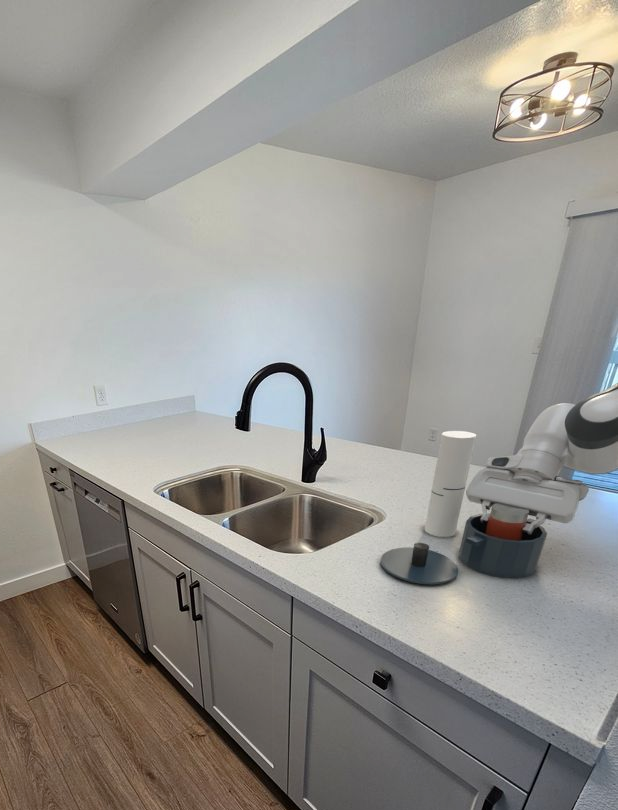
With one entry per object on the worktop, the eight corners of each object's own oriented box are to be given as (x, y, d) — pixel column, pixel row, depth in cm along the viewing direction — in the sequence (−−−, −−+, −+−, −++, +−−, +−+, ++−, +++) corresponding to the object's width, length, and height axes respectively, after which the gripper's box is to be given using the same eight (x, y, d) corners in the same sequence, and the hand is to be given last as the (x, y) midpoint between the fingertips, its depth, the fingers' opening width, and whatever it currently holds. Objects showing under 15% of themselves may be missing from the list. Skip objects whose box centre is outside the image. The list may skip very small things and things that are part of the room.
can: (525, 548, 94) (537, 510, 90) (504, 556, 92) (515, 517, 88) (496, 536, 100) (506, 500, 96) (475, 543, 97) (484, 506, 93)
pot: (559, 564, 95) (571, 529, 91) (495, 588, 88) (505, 551, 84) (496, 538, 107) (504, 506, 103) (436, 557, 100) (442, 524, 96)
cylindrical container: (453, 539, 108) (475, 439, 97) (422, 533, 111) (440, 436, 100) (456, 528, 113) (477, 432, 102) (426, 523, 117) (443, 429, 105)
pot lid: (473, 575, 93) (479, 552, 90) (418, 594, 88) (423, 570, 85) (416, 545, 106) (420, 525, 103) (365, 561, 101) (368, 539, 98)
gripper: (591, 490, 89) (563, 548, 88) (484, 471, 104) (458, 520, 102) (593, 474, 85) (562, 535, 84) (480, 457, 99) (453, 508, 98)
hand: (504, 527), depth 93 cm, fingers closed on can, 7 cm apart
